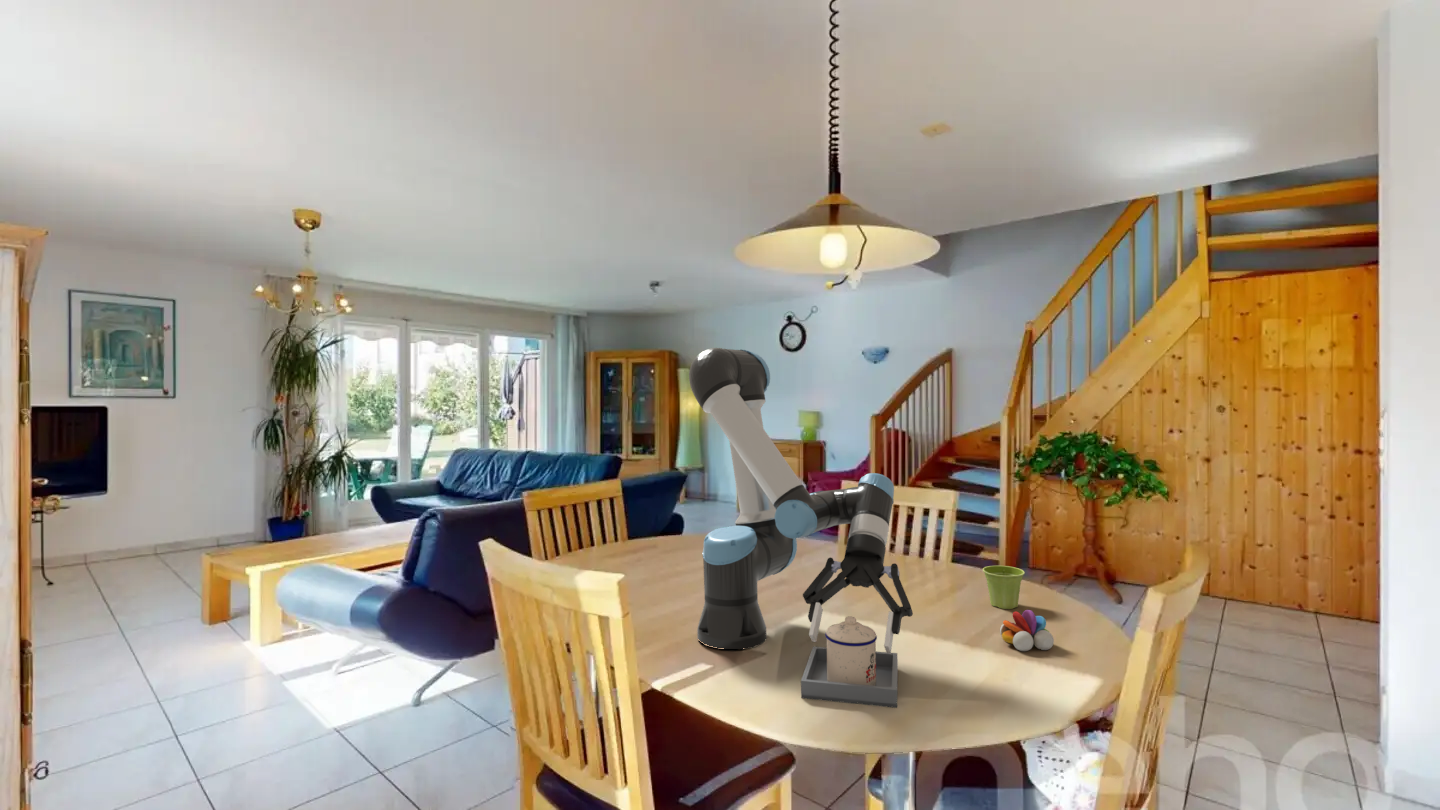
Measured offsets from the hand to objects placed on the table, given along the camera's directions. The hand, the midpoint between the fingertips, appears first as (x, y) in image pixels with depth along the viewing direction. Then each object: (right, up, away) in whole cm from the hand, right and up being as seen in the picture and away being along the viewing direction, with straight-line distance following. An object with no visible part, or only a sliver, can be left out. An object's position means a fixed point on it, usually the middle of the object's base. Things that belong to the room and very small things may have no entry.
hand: (848, 644), depth 114 cm
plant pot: (+47, -7, +43) cm, 64 cm away
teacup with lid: (+1, -7, +2) cm, 8 cm away
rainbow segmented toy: (+40, -7, +17) cm, 44 cm away
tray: (+1, -8, +2) cm, 8 cm away
